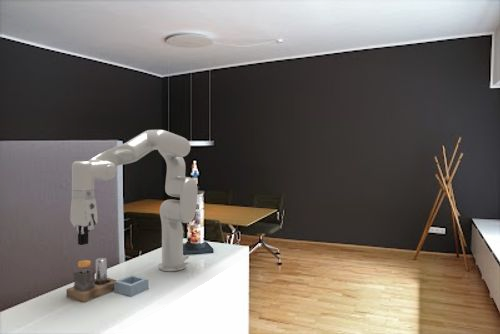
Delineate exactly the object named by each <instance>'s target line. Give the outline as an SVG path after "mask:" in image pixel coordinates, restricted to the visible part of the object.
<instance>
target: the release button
mask: <svg viewBox="0 0 500 334" xmlns="http://www.w3.org/2000/svg"><path fill="white" fill-rule="evenodd" d="M91 266H92V261H91V260H90V259H83V260H79V261H77V267H78V268H81V271H82V274H86V273H87V270H88V268H89V267H91Z"/></svg>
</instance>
